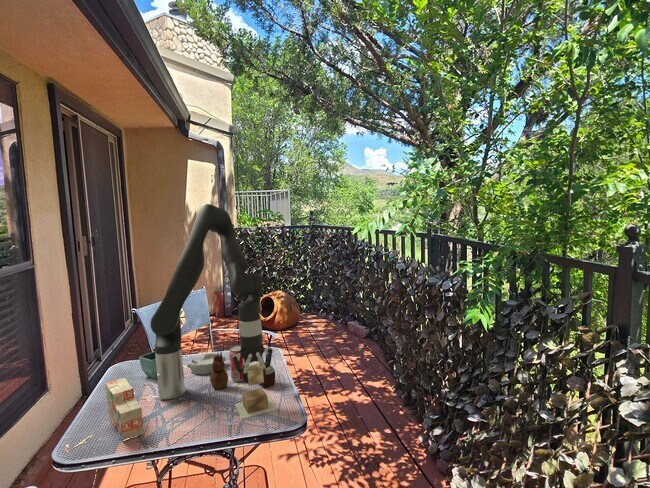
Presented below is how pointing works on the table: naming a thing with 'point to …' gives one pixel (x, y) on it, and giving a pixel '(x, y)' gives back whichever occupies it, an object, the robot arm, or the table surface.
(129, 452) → the table surface
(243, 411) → the build board
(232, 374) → the soda can
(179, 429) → the table surface
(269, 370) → the mate gourd
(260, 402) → the walnut brick
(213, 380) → the wooden figurine
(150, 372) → the flower pot
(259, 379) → the maple brick
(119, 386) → the stack of blocks
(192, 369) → the dish
